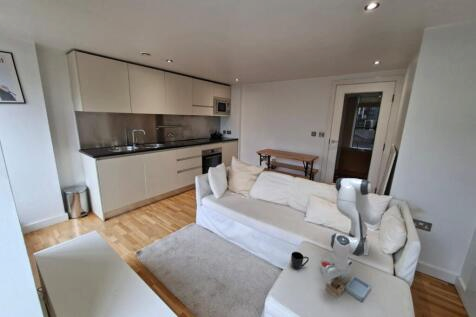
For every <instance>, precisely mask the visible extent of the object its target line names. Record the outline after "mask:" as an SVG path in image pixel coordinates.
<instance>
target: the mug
mask: <svg viewBox="0 0 476 317" xmlns="http://www.w3.org/2000/svg"><path fill="white" fill-rule="evenodd" d="M290 256H291V257H290V261H291V262H290V263H291V265H292V266H291V267H292V268H293V269H294V270H296V271H297V270H300V269H301V268H302V267H304V266H305V265H306V264H307V263H308V262H309V257H308V256H304V255H303V254H302V253H301V252H300V251H292V253H291V255H290ZM304 259H306V261H305V262H304Z"/></svg>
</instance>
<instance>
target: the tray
mask: <svg viewBox="0 0 476 317" xmlns="http://www.w3.org/2000/svg"><path fill="white" fill-rule="evenodd" d="M344 286H345V288H344V292H345V293H348V294H350V295H351V296H353V298H355V299H356V300H358V301H359V302H361V303H363V301H364V300H365V298H366V297H367V296H368V294H369V292H370V291H371V287H372V285H371V284H369V283H367V282H366V281H364V280H363V279H361V278H359V277H358V276H356V274H355V275H353V277H351V279H350V280H349V281H348V283H347V284H346V285H344Z"/></svg>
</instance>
